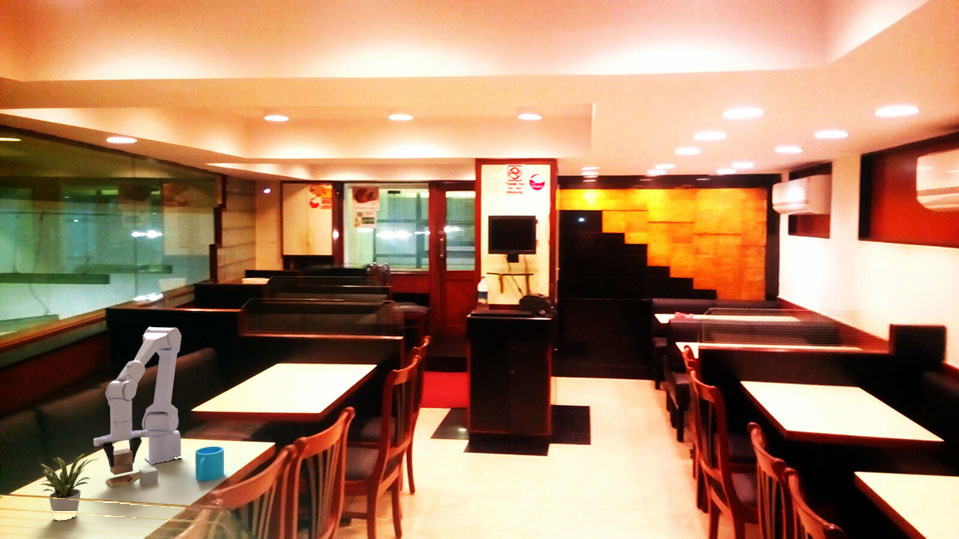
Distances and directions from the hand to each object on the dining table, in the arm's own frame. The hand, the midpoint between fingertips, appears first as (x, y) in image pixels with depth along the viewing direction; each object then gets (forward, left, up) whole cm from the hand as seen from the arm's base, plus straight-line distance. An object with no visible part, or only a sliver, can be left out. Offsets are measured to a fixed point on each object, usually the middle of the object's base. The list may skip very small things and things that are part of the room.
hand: (121, 464), depth 198 cm
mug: (-20, +15, -5) cm, 26 cm away
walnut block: (0, 0, -2) cm, 2 cm away
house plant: (+17, +19, -5) cm, 26 cm away
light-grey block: (-6, +7, -5) cm, 10 cm away
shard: (0, 0, -6) cm, 6 cm away
